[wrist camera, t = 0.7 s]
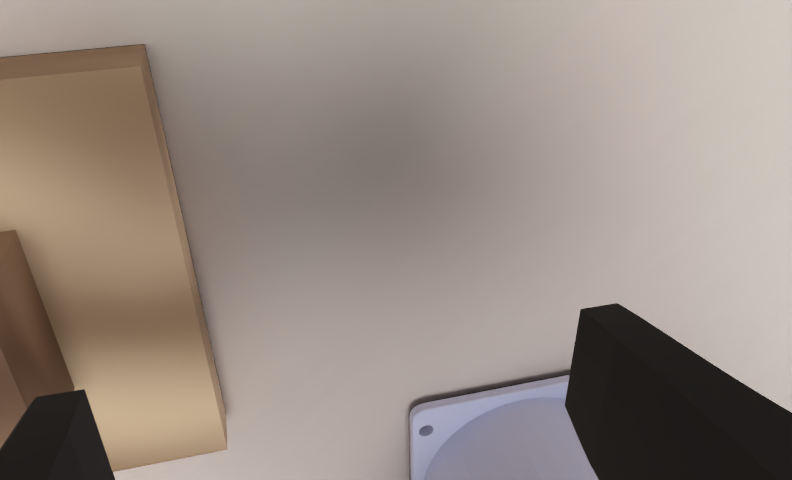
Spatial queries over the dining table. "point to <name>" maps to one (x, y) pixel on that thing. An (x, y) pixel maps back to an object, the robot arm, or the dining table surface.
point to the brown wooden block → (24, 339)
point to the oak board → (110, 248)
